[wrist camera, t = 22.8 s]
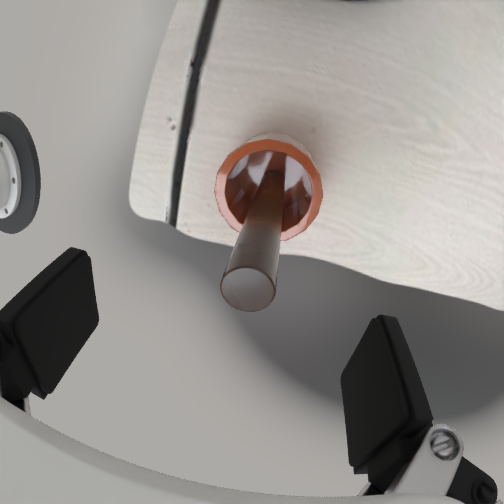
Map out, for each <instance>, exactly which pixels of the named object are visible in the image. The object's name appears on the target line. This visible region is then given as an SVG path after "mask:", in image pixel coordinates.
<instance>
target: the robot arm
mask: <svg viewBox="0 0 504 504" xmlns="http://www.w3.org/2000/svg"><path fill="white" fill-rule="evenodd" d="M21 187H22V182H21V171H20V165H19V161H18V158H17V155H16V152H15V150H14V148H13V146H12V144H11V143H10V141H9V140H8V139H7V138H6V137H5V136H4V135H2V134H0V218H6V217H8V216H10V215H11V214H12V213H14V212H15V210H16V208H17V207H18V204H19V201H20V196H21ZM98 322H99V315H98V309H97V303H96V296H95V290H94V281H93V274H92V265H91V258H90V257H89V256H88V254H87V252H86V251H84V250H81V249H77V248H73V247H71V248H69V249H67V250H66V251H65V252H64V253H63V254H61V255H60V256H59V257H58V258H57V259H56V260H54V261H53V262H52V263H51V264H50V265H48V266H47V267H46V268H45V269H44V270H43V271H42V272H40V273H39V274H38V275H37V276H36V277H35V278H34V279H33V280H32V281H31V282H29V283H28V284H27V285H26V286H25V287H24V288H23V289H22V290H21V291H20V292H19V293H18V294H17V295H16V296H15V297H13V298H12V300H10V301H9V302H8V303H7V304H6V305H5V306H4V307H3V308H2V309H1V310H0V504H503V503H502V502H501V500H498V501H496V500H497V486H496V483H495V482H494V480H493V479H492V478H491V477H490V476H489V475H487V474H486V473H484V472H483V471H482V470H480V469H479V468H478V467H476V466H475V465H474V464H472V463H471V462H469V461H468V460H467V459H465V458H464V457H463V456H462V455H463V450H464V448H463V441H462V439H461V436H460V435H459V434H458V432H457V431H456V430H454V428H452V427H450V426H448V425H445V424H438V425H434V426H433V424H432V420H433V416H432V414H431V410H430V407H429V404H428V400H427V397H426V394H425V392H424V388H423V386H422V382H421V379H420V377H419V374H418V371H417V368H416V366H415V363H414V360H413V358H412V355H411V352H410V350H409V347H408V344H407V342H406V339H405V337H404V334H403V332H402V329H401V327H400V325H399V322H398V320H397V318H396V317H392V316H386V315H379V316H377V318H373V319H372V320H371V321H370V323H369V325H368V327H367V329H366V331H365V333H364V335H363V337H362V338H361V340H360V342H359V344H358V346H357V348H356V349H355V351H354V353H353V355H352V356H351V358H350V360H349V362H348V364H347V365H346V367H345V369H344V370H343V372H342V375H341V389H342V397H343V405H344V414H345V424H346V434H347V445H348V457H349V464H350V466H353V467H354V474H368V483H367V484H366V485H365V487H364V488H363V489H362V490H361V492H360V493H359V495H357V496H352V497H304V496H285V495H273V494H263V493H254V492H246V491H240V490H234V489H228V488H221V487H217V486H211V485H207V484H202V483H198V482H193V481H189V480H185V479H181V478H177V477H173V476H169V475H166V474H163V473H159V472H156V471H153V470H150V469H147V468H144V467H140V466H137V465H135V464H132V463H129V462H126V461H124V460H121V459H118V458H115V457H113V456H111V455H108V454H106V453H104V452H101V451H99V450H96V449H94V448H92V447H90V446H87V445H85V444H83V443H81V442H79V441H76V440H75V439H73V438H70V437H68V436H66V435H64V434H62V433H61V432H59V431H57V430H55V429H53V428H51V427H49V426H48V425H46V424H44V423H42V422H40V421H39V420H37V419H35V418H34V417H32V416H31V412H30V406H29V399H28V395H29V394H30V392H32V393H33V394H35V395H37V396H38V397H40V398H42V399H45V398H46V396H47V394H51V393H52V392H53V391H54V389H55V388H56V386H57V385H58V383H59V381H60V380H61V378H62V377H63V375H64V374H65V372H66V371H67V369H68V368H69V366H70V365H71V363H72V362H73V360H74V359H75V357H76V355H77V354H78V353H79V351H80V350H81V348H82V347H83V346H84V344H85V343H86V341H87V340H88V338H89V337H90V335H91V334H92V333H93V331H94V330H95V328H96V327H97V325H98Z"/></svg>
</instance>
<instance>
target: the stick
mask: <svg viewBox="0 0 504 504" xmlns="http://www.w3.org/2000/svg"><path fill="white" fill-rule="evenodd" d="M284 190H285V178H284V176H283V175H282V173H280V172H279V171H276V170H270V171H267V172H266V173H265V174H264V175H263V177H262V179H261V182H260V184H259V187H258V189H257V191H256V194H255V196H254V199H253V201H252V204H251V206H250V209H249V211H248V214H247V216H246V219H245V221H244V224H243V226H242V229H241V231H240V234H239V236H238V239H237V241H236V244H235V246H234V249H233V252H232V254H231V257H230V259H229V262H228V265H227V267H226V269H225V272H224V275H223V277H222V280H221V284H220V289H221V293H222V295H223V298H224V299H225V300H226V302H227V303H228V304H229V305H231V306H232V307H234V308H236V309H238V310H241V311H245V312H255V311H259V310H262V309H264V308H266V307H267V306H268V305H269V304H270V303H271V302H272V301H273V299H274V297H275V292H276V282H277V272H278V262H279V250H280V239H281V227H282V215H283V203H284Z"/></svg>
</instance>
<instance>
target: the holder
mask: <svg viewBox="0 0 504 504" xmlns="http://www.w3.org/2000/svg"><path fill="white" fill-rule="evenodd" d="M270 170H276V171H279V172H280V173H282V175H283V176H284V178H285V190H284V203H283V215H282V227H281V239H280V241H285V240H288V239H290V238H292V237H294V236H296V235H298V234H299V233H301V232H303V231H305V230H306V229H307V228H308V226H309V225H310V224H311V223H312V221H313V220H314V219H315V218H316V216H317V215H318V212H319V209H320V205H321V202H322V198H323V190H322V183H321V177H320V173H319V171H318V169H317V167H316V164H315V162H314V160H313V158H312V157H311V155H310V154H309V152H308V151H307V149H306V148H305V147H304V145H302V144H301V143H300V142H299V141H297V140H296V139H294V138H292V137H290V136H288V135H285V134H281V133H265V134H261V135H257V136H254V137H253V138H251V139H250V140H248V141H247V142H245V143H244V144H242V145H241V146H240V147H238V148H237V149H235V150H234V151H233V152H231V153H230V154H229V155H228V156H227V158H226V159H225V161H224V162H223V164H222V166H221V167H220V169H219V170H218V173H217V178H216V184H215V191H214V192H215V197H216V200H217V204H218V208H219V211H220V213H221V214H222V216H223V217H224V219H225V220H226V221H227V223H228V224H229V225H230V227H232V228H233V229H234V230H236V231H237V232H239V233H240V231H241V229H242V226H243V224H244V221H245V219H246V216H247V214H248V211H249V209H250V206H251V204H252V201H253V199H254V196H255V194H256V191H257V189H258V187H259V184H260V182H261V179H262V177H263V175H264V174H265V173H266V172H267V171H270Z"/></svg>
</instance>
